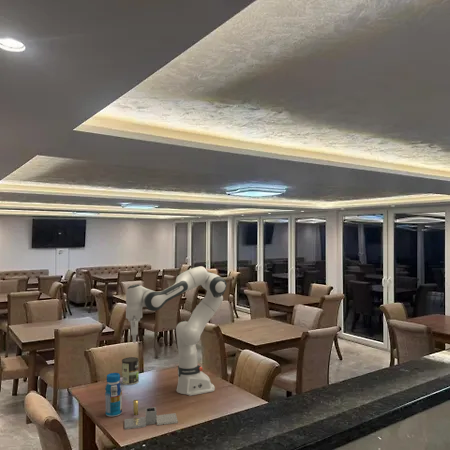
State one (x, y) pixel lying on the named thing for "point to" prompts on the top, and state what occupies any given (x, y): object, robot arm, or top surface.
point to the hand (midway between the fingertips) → (134, 340)
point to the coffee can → (130, 371)
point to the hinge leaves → (150, 419)
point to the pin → (135, 407)
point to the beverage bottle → (113, 395)
